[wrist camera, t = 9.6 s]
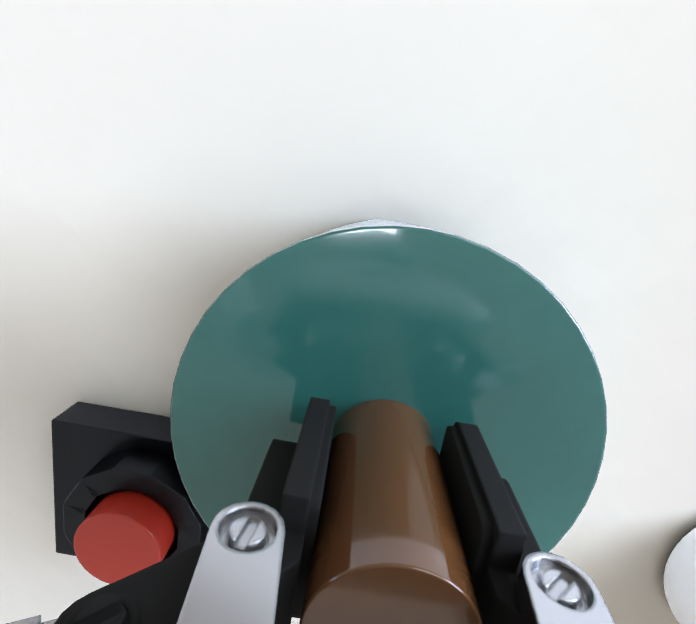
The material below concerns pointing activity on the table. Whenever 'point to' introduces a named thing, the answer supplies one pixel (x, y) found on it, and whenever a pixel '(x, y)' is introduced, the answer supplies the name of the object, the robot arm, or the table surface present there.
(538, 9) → the table surface
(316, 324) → the lid
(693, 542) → the wine bottle
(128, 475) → the button housing
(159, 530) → the release button
